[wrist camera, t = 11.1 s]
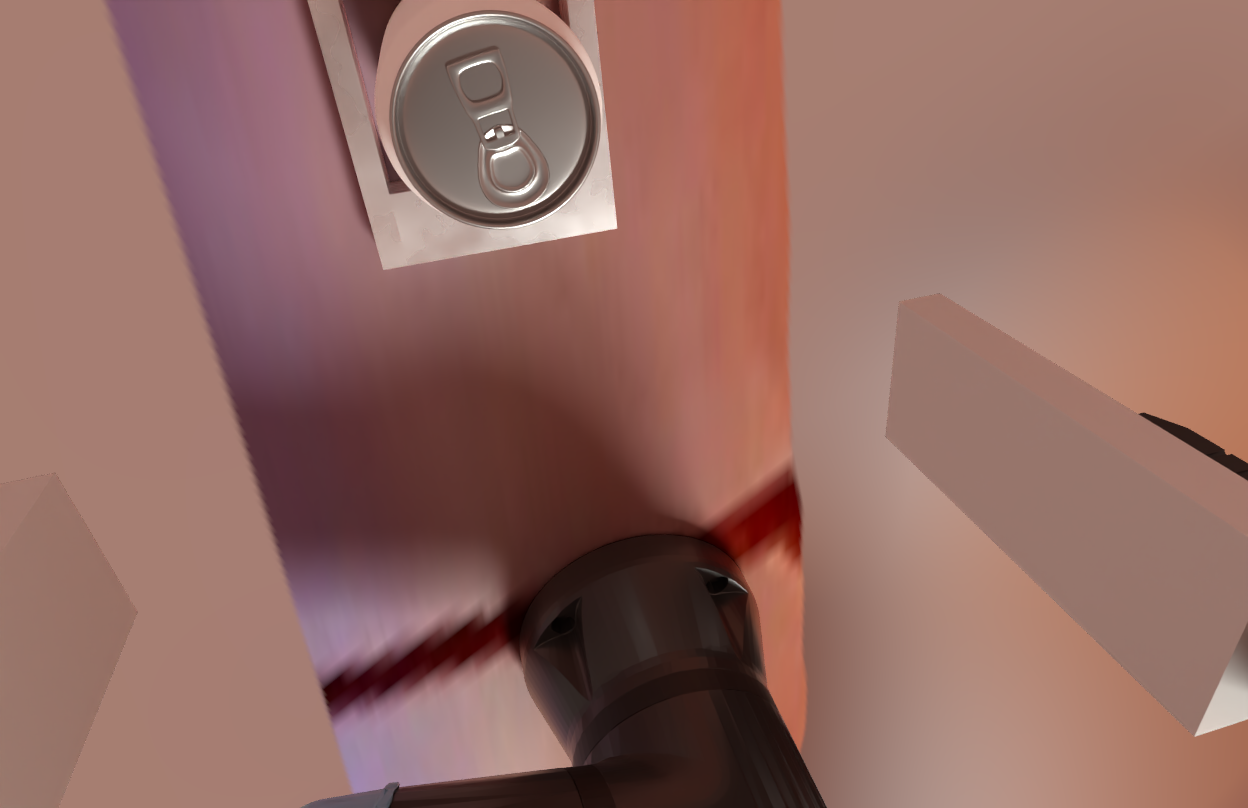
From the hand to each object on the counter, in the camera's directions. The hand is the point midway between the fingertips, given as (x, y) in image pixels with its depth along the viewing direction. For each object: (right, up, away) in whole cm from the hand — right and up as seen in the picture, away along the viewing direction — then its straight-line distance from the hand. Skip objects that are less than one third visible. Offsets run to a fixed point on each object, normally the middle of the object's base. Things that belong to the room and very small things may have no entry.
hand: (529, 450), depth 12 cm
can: (-5, +14, +18) cm, 24 cm away
